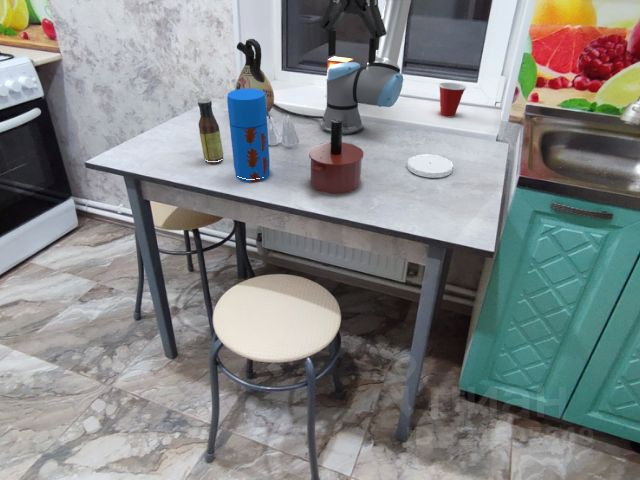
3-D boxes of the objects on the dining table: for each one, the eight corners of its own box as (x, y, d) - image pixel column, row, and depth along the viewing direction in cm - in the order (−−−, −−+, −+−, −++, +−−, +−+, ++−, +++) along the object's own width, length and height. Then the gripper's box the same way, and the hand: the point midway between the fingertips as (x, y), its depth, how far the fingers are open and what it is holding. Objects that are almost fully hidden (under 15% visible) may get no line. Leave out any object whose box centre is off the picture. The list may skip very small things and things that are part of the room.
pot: (295, 189, 139) (294, 160, 134) (333, 166, 152) (334, 138, 147) (337, 204, 132) (338, 173, 127) (373, 178, 145) (375, 149, 140)
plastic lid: (442, 184, 142) (444, 177, 141) (399, 173, 148) (400, 166, 147) (458, 167, 152) (459, 160, 150) (417, 157, 158) (418, 150, 157)
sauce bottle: (227, 158, 157) (220, 98, 145) (218, 166, 152) (210, 105, 140) (209, 156, 158) (201, 96, 147) (200, 163, 153) (191, 102, 142)
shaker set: (300, 146, 165) (299, 115, 159) (295, 150, 162) (294, 119, 156) (270, 140, 169) (268, 110, 163) (264, 145, 166) (262, 114, 160)
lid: (297, 159, 136) (296, 122, 130) (328, 141, 146) (329, 107, 140) (343, 173, 128) (345, 135, 122) (373, 154, 139) (376, 118, 133)
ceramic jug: (228, 116, 190) (220, 36, 173) (260, 108, 198) (254, 31, 182) (253, 128, 179) (247, 44, 163) (285, 118, 188) (282, 38, 171)
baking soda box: (326, 96, 212) (327, 58, 203) (333, 92, 217) (334, 55, 208) (345, 99, 208) (347, 61, 199) (352, 95, 213) (353, 58, 204)
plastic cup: (465, 113, 195) (470, 83, 188) (456, 120, 187) (461, 90, 181) (440, 108, 200) (444, 79, 193) (430, 115, 192) (434, 85, 185)
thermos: (236, 167, 151) (228, 88, 137) (270, 166, 152) (265, 87, 138) (234, 183, 142) (225, 100, 128) (270, 182, 143) (265, 99, 129)
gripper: (307, -27, 129) (308, 55, 141) (389, -21, 117) (383, 68, 129) (323, -30, 134) (323, 50, 146) (403, -24, 122) (395, 62, 134)
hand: (351, 58), depth 137 cm, fingers open, 13 cm apart
